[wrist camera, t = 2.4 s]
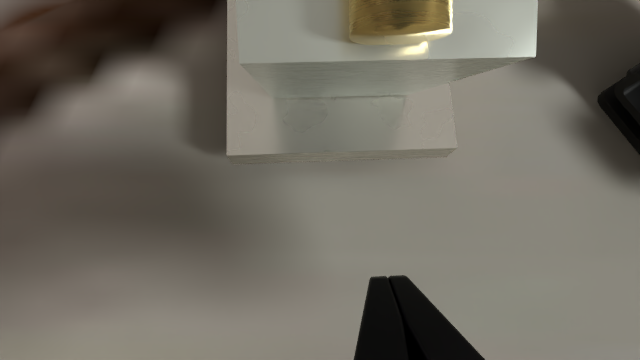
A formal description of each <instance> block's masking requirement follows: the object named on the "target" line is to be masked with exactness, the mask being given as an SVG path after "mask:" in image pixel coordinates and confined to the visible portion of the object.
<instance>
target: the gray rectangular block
mask: <svg viewBox="0 0 640 360" xmlns="http://www.w3.org/2000/svg"><path fill="white" fill-rule="evenodd" d="M455 149H457V141H456V132H455V124H454V116H453V108H452V100H451V92H450V84H449V83H446V84H442V85H439V86H436V87H432V88H429V89H425V90H422V91H419V92H415V93H412V94H409V95H382V96H345V97H308V98H272V97H271V96H270V95H269V94H268V93H267V92H266V91H265V90H264V89H263V88H262V87H261V86H260V85H259V84H258V83H257V82H256V81H255V80H254V79H253V78H252V76H251V75H250V74H249V73H248V72H247V71H246V70H245V69H244V68H243V67H242V66H241V65H240V64H239V50H238V31H237V13H236V0H227V157H228V158H229V160H230V161H231V163H232V164H261V163H291V162H320V161H349V160H379V159H408V158H437V157H447V156H448V155H449V154H450V153H452V152H453V151H454V150H455Z"/></svg>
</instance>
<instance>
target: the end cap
mask: <svg viewBox="0 0 640 360" xmlns="http://www.w3.org/2000/svg"><path fill="white" fill-rule="evenodd" d="M598 103H599V105H600V107H601V108H602V109H603V111H604V112H605V113H606V114H607V115H608V117H609V118H610V119H611V120H612V121H613V123H614V124H615V125H616V126H617V128H618V129H619V130H620V131H621V132H622V134H623V135H624V136H625V137H626V138H627V140H628V141H629V142H630V143H631V145H632V146H633V147H634V148H635V149H636V151H637V152H638V153H639V154H640V63H639V64H638V65H636V66H635V67H633V68H632V69H630V70H629V71H628V72H627V75H626V77H624V78H623V79H621V80H620V81H618V82H617V83H615V84H614V85H612V86H611V87H609V88H608V89H606V90H605V91H603V92H602V93H601V94H600V95H599V96H598Z"/></svg>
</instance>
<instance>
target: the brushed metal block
mask: <svg viewBox="0 0 640 360" xmlns="http://www.w3.org/2000/svg"><path fill="white" fill-rule="evenodd" d="M537 12H538V0H236V13H237V31H238V50H239V64H240V65H241V66H242V67H243V68H244V69H245V70H246V71H247V72H248V73H249V74H250V75H251V76H252V78H253V79H254V80H255V81H256V82H257V83H258V84H259V85H260V86H261V87H262V88H263V89H264V90H265V91H266V92H267V93H268V94H269V95H270V96H271V97H272V98H308V97H345V96H382V95H409V94H412V93H415V92H419V91H422V90H425V89H429V88H432V87H436V86H439V85H442V84H446V83H449V82H452V81H456V80H459V79H463V78H466V77H469V76H473V75H476V74H479V73H483V72H486V71H489V70H493V69H496V68H500V67H503V66H506V65H510V64H513V63H516V62H520V61H523V60H527V59H530V58H533V57H536V38H537Z"/></svg>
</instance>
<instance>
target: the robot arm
mask: <svg viewBox="0 0 640 360" xmlns="http://www.w3.org/2000/svg"><path fill="white" fill-rule="evenodd" d="M354 360H485V359H484V358H483V357H482V356H481V355H480V354H479V353H478V352H477V351H476V350H475V348H474V347H473V346H472V345H471V344H470V343H469V342H468V341H467V340H466V339H465V338H464V337H463V336H462V335H461V334H460V332H459V331H458V330H457V329H456V328H455V327H454V326H453V325H452V324H451V323H450V322H449V321H448V320H447V319H446V318H445V317H444V315H443V314H442V313H441V312H440V311H439V310H438V309H437V308H436V307H435V306H434V305H433V304H432V303H431V302H430V301H429V299H428V298H427V297H426V296H425V295H424V294H423V293H422V292H421V291H420V290H419V289H418V288H417V287H416V286H415V285H414V284H413V282H412V281H411V280H410V279H409V278H408V277H406V276H404V275H400V276H390V277H388V278H387V277H386V276H379V277H371V278H370V280H369V285H368V290H367V295H366V300H365V305H364V311H363V316H362V321H361V326H360V331H359V336H358V341H357V346H356V351H355V356H354Z"/></svg>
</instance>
